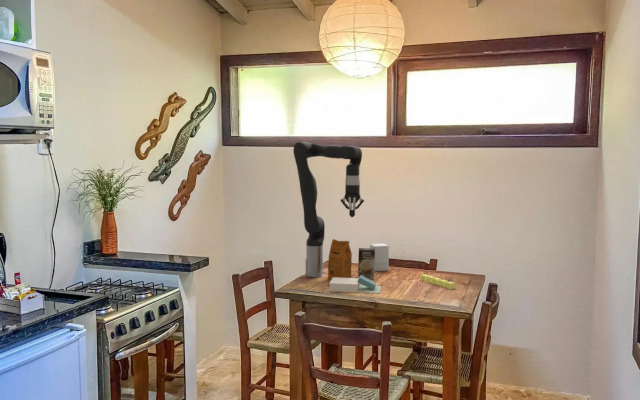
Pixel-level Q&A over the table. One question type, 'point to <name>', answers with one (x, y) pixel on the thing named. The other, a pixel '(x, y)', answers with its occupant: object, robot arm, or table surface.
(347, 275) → the coffee package
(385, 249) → the supplement box
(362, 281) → the teal block
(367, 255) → the coffee box
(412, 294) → the table surface
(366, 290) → the mat
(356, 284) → the white flat block
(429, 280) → the yellow piece
